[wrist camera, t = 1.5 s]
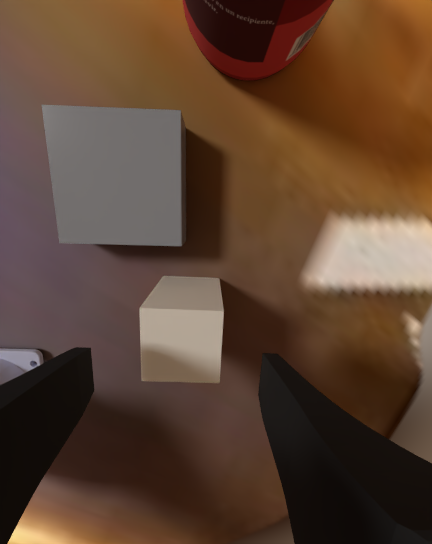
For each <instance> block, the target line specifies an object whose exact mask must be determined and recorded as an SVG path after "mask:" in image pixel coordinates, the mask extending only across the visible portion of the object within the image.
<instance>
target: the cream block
mask: <svg viewBox="0 0 432 544" xmlns="http://www.w3.org/2000/svg"><path fill="white" fill-rule="evenodd" d="M223 317H224V309H223V301H222V294H221V287H220V280H219V278H202V277H178V276H163V277H162V278H161V280H160V281H159V283H158V284H157V285H156V287H155V288H154V289H153V291H152V292H151V293H150V295H149V296H148V297H147V299H146V300H145V301H144V303H143V304H142V305H141V307H140V342H141V377H142V381H162V382H200V383H220V366H221V350H222V333H223Z"/></svg>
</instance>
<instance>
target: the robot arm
mask: <svg viewBox="0 0 432 544" xmlns="http://www.w3.org/2000/svg"><path fill="white" fill-rule="evenodd" d="M34 361H35V362H37V364H36V363H35V362H34ZM93 392H94V381H93V370H92V358H91V348H78V347H76V348H73V349H71V350H69V351H66V352H64V353H62V354H60V355H58V356H56V357H55V358H53V359H51V360H49V361H47V362H45V363H44V361H43V355H42V353H41V352H40V351H39V350H36V349H6V348H0V544H7V543H8V541H9V539H10V537H11V535H12V533H13V531H14V529H15V528H16V526H17V524H18V522H19V520H20V518H21V516H22V514H23V512H24V511H25V509H26V507H27V505H28V503H29V501H30V499H31V497H32V495H33V494H34V492H35V490H36V489H37V487H38V485H39V483H40V482H41V480H42V478H43V477H44V475H45V474H46V472H47V470H48V469H49V467H50V466H51V464H52V463H53V461H54V459H55V458H56V456H57V455H58V453H59V452H60V450H61V448H62V447H63V445H64V444H65V442H66V441H67V439H68V437H69V436H70V434H71V433H72V431H73V429H74V428H75V426H76V425H77V423H78V421H79V420H80V418H81V416H82V415H83V413H84V411H85V409H86V407H87V405H88V403H89V400H90V398H91V396H92V394H93ZM258 395H259V401H260V407H261V413H262V418H263V422H264V425H265V429H266V432H267V436H268V439H269V443H270V446H271V449H272V453H273V456H274V459H275V463H276V466H277V469H278V473H279V476H280V480H281V483H282V487H283V491H284V495H285V499H286V504H287V509H288V514H289V518H290V523H291V528H292V533H293V538H294V543H295V544H432V463H430V462H428V461H426V460H424V459H422V458H420V457H418V456H416V455H414V454H413V453H411V452H409V451H407V450H406V449H404V448H402V447H400V446H398V445H397V444H395V443H394V442H392V441H390V440H389V439H387V438H385V437H384V436H382V435H380V434H379V433H377V432H375V431H374V430H372V429H371V428H369V427H367V426H366V425H364V424H363V423H361V422H360V421H358V420H357V419H356V418H354V417H353V416H351V415H350V414H348V413H347V412H345V411H344V410H343V409H341V408H340V407H339V406H337V405H336V404H335V403H333V402H332V401H331V400H329V399H328V398H327V397H326V396H324V395H323V394H322V393H321V392H319V391H318V390H317V389H316V388H315V387H313V386H312V385H311V384H310V383H309V382H308V381H307V380H305V379H304V378H303V377H302V376H301V375H300V374H299V373H298V372H297V371H295V370H294V369H293V368H292V367H291V366H290V365H289V364H288V363H287V362H286V361H285V360H284V359H283V358H281V357H280V356H279V355H278V354H271V353H263V356H262V365H261V374H260V384H259V393H258Z"/></svg>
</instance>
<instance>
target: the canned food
mask: <svg viewBox="0 0 432 544" xmlns="http://www.w3.org/2000/svg"><path fill="white" fill-rule="evenodd" d="M332 2H333V0H183V5H184V11H185V17H186V20H187V23H188V26H189V29H190V32H191V34H192V36H193V38H194V40H195V41H196V43H197V45H198V47H199V49H200V50H201V52H202V54H203V55H204V56H205V57H206V59H207V60H208V61H209V62H210V64H212V65H213V66H214V67H215V68H216V69H218V70H219V71H220V72H222V73H224V74H226V75H228V76H230V77H232V78H236V79H240V80H258V79H262V78H266V77H268V76H271V75H273V74H275V73H277V72H278V71H280V70H281V69H283V68H284V67H286V66H287V65H288V64H289V63H291V62H292V61H293V60H295V59H296V57H297V56H298V55H299V54H300V53H301V52H302V51H303V50H304V48H305V47H306V46H307V44H308V42H309V41H310V39H311V38H312V36H313V34H314V33H315V31H316V29H317V28H318V26H319V24H320V22H321V21H322V19H323V17H324V16H325V14H326V12H327V11H328V9H329V7H330V6H331V4H332Z"/></svg>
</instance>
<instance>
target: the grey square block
mask: <svg viewBox="0 0 432 544" xmlns="http://www.w3.org/2000/svg"><path fill="white" fill-rule="evenodd" d="M42 111H43V119H44V127H45V134H46V142H47V150H48V158H49V165H50V173H51V181H52V189H53V196H54V204H55V212H56V220H57V227H58V235H59V243H74V244H114V245H154V246H182V245H183V244H184V243H185V242H186V127H185V123H184V120H183V117H182V113H181V110H160V109H135V108H109V107H84V106H59V105H42Z"/></svg>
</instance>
